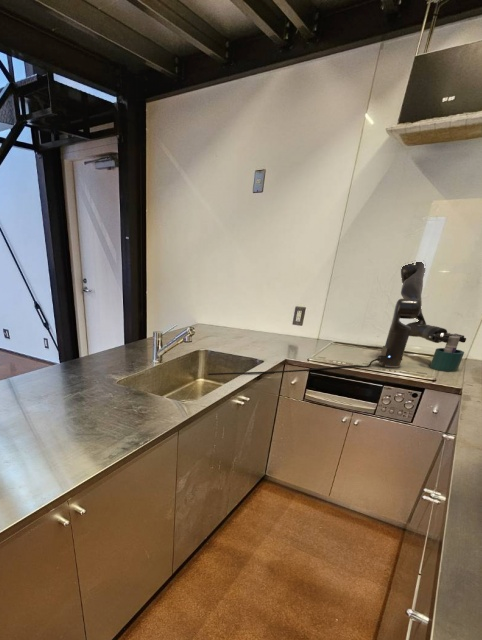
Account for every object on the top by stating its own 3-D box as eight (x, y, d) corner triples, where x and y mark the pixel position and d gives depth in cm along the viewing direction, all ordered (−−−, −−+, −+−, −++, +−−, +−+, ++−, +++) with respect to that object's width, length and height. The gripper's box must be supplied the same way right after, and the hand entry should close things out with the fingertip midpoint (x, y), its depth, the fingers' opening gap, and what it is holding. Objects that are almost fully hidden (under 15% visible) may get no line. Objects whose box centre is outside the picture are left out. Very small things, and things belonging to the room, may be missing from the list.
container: (445, 365, 196) (456, 335, 189) (451, 367, 192) (462, 337, 185) (436, 365, 197) (446, 335, 190) (441, 367, 193) (452, 337, 185)
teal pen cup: (436, 371, 191) (442, 353, 186) (425, 364, 201) (431, 347, 196) (462, 371, 189) (469, 353, 184) (450, 365, 199) (456, 348, 194)
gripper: (423, 327, 199) (444, 333, 185) (450, 326, 199) (473, 332, 184) (418, 341, 202) (439, 348, 188) (445, 341, 202) (467, 348, 188)
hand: (456, 340), depth 186 cm, fingers open, 8 cm apart
